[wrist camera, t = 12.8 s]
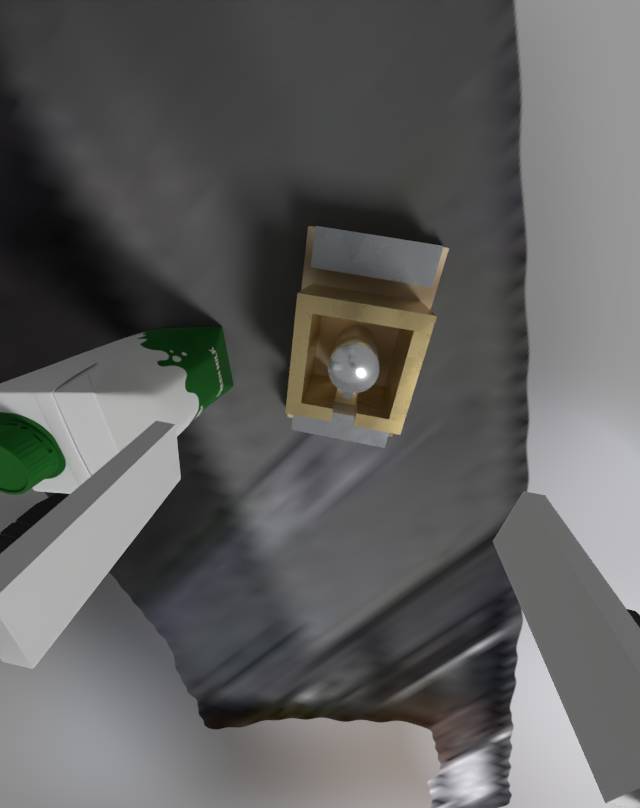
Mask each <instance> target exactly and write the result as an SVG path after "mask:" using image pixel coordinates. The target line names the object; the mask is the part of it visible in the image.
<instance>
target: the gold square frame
mask: <svg viewBox="0 0 640 808" xmlns="http://www.w3.org/2000/svg"><path fill="white" fill-rule="evenodd" d="M321 315H324V316H330V317H336V318H342V319H348V320H354V321H360V322H366V323H371V324H377V325H383V326H389V327H395V328H399V332H398V336H397V340H396V344H395V348H394V352H393V355H392V359H391V363H390V367H389V371H388V375H387V379H386V383H385V386H379V385H374V384H373V385H372V386H371V387H370V388H369V389H367V390H365V391H363V392H360V393H356V399H355V414H354V426H356V427H362V428H367V429H372V430H378V431H383V432H388V433H394V434H399V435H400V434H401V430H402V427H403V424H404V421H405V417H406V414H407V411H408V408H409V405H410V401H411V398H412V395H413V392H414V388H415V385H416V382H417V379H418V375H419V372H420V369H421V366H422V362H423V359H424V356H425V353H426V350H427V346H428V343H429V340H430V337H431V333H432V330H433V327H434V324H435V320H436V317H437V316H436V315H435V314H434V313H433V312H432V311H431V310H430V309H429V308H428V307H426V306H425V305H424V304H423V303H422V302H421V301H416V300H410V299H404V298H398V297H392V296H386V295H379V294H373V293H367V292H361V291H355V290H349V289H343V288H337V287H331V286H325V285H319V284H313V283H312V284H311V285H309V286H307V287H306V288H304V289H303V290H301V291H300V292H298V293H297V302H296V312H295V322H294V332H293V342H292V352H291V362H290V372H289V382H288V392H287V402H286V412H285V413H287V414H293V415H298V416H303V417H309V418H314V419H319V420H324V421H330V422H331V418H332V413H333V408H334V403H335V398H336V393H337V387H336V386H335V385H334V384H333V383H332V381H331V379H330V377H329V376H324V375H318V374H313V373H314V366H315V359H316V351H317V344H318V337H319V330H320V323H321Z"/></svg>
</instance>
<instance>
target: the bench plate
mask: <svg viewBox="0 0 640 808" xmlns="http://www.w3.org/2000/svg"><path fill="white" fill-rule="evenodd" d="M314 234H315V227H312V226H308V232H307V241H306V251H305V260H304V269H303V278H302V287H301V290H303V289H304V288H306V287H307V286H309V285H311V284H312V283H313V284H319V285H325V286H331V287H337V288H343V289H349V290H355V291H361V292H367V293H373V294H379V295H386V296H392V297H398V298H404V299H410V300H416V301H421V302H422V303H423V304H424V305H425V306H426V307H428V308H429V309H430V310H431V307H432V303H433V300H434V297H435V293H436V290H437V287H438V283H439V280H440V277H441V273H442V270H443V267H444V263H445V260H446V257H447V253H448V250H449V248H444V247H443V251H442V254H441V257H440V261H439V264H438V268H437V271H436V274H435V278H434V281H433V285H432V287H427V286H421V285H415V284H409V283H403V282H397V281H391V280H385V279H379V278H373V277H367V276H361V275H355V274H349V273H343V272H337V271H331V270H325V269H319V268H313V267H311V259H312V251H313V242H314ZM351 325H361V326H364V327H366V328H368V329H369V330H370V331H371V332H372V333H373V334H374V336H375V338H376V344H377V352H378V361H379V375H378V378H377V380H376V382H375V383H374V385H379V386H385V383H386V379H387V375H388V371H389V367H390V363H391V359H392V355H393V352H394V348H395V344H396V340H397V336H398V332H399V328H395V327H389V326H383V325H377V324H371V323H366V322H360V321H354V320H348V319H342V318H336V317H330V316H324V315H321V323H320V330H319V337H318V344H317V351H316V359H315V366H314V373H313V374H318V375H324V376H329V373H328V365H329V361H330V358H331V355H332V352H333V349H334V345H335V342H336V339H337V337H338V335H339V333H340V332H341V331H342V330H343V329H345V328H346V327H348V326H351ZM355 399H356V393H353V396H352V399H348V398H343V391H342V390H340V389H339V388H337V393H336V398H335V402H340V403H345V404H351V405H355ZM287 417H292V418H293V414H288V416H287ZM388 436H391V437H392V436H393V433H389V435H388Z"/></svg>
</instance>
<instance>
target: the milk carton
mask: <svg viewBox="0 0 640 808" xmlns="http://www.w3.org/2000/svg"><path fill="white" fill-rule="evenodd" d="M232 387H233V381H232V376H231V370H230V365H229V360H228V355H227V350H226V344H225V339H224V334H223V329H222V326H217V327H179V328H158V329H152V330H146V331H143V332H140V333H137V334H134V335H132V336H129V337H126V338H123V339H121V340H118V341H115V342H112V343H110V344H107V345H104V346H101V347H99V348H96V349H93V350H90V351H88V352H85V353H82V354H79V355H77V356H74V357H71V358H69V359H66V360H63V361H61V362H58V363H55V364H53V365H50V366H47V367H45V368H42V369H39V370H36V371H34V372H31V373H28V374H25V375H23V376H20V377H17V378H14V379H12V380H9V381H6V382H3V383H1V384H0V492H3V493H7V494H22V493H25V492H26V491H28V490H30V489H31V488H33V490H34V491H41V492H55V493H69V494H71V493H72V492H73V491H74V490H76V489H77V488H78V487H79V486H80V485H81V484H83V483H84V482H85V481H86V480H87V479H88V478H90V477H91V476H92V475H93V474H94V473H96V472H97V471H98V470H99V469H100V468H101V467H103V466H104V465H105V464H106V463H107V462H108V461H110V460H111V459H112V458H113V457H114V456H115V455H117V454H118V453H119V452H120V451H121V450H122V449H124V448H125V447H126V446H127V445H128V444H129V443H131V442H132V441H133V440H134V439H135V438H136V437H138V436H139V435H140V434H141V433H142V432H143V431H145V430H146V429H147V428H148V427H149V426H150V425H152V424H153V423H154V422H155V421H161V422H166V423H171V424H175V425H176V435H177V436H178V435H179V434H180V433H181V432H182V431H183V430H184V429H185V428H186V427H187V426H188V425H189V424H190V423H191V422H192V421H193V420H194V419H195V418H196V417H197V416H198V415H199V414H200V413H201V412H202V411H203V410H204V409H205V408H207V407H208V406H209V405H210V404H211V403H213V402H214V401H215V400H216V399H218V398H219V397H220V396H222V395H223V394H224V393H225V392H227V391H228V390H229V389H230V388H232Z"/></svg>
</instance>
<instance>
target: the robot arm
mask: <svg viewBox="0 0 640 808" xmlns="http://www.w3.org/2000/svg"><path fill="white" fill-rule="evenodd" d="M180 479H181V476H180V466H179V456H178V446H177V435H176V425H175V424H171V423H166V422H161V421H155V422H154V423H153V424H152V425H150V426H149V427H148V428H147V429H146V430H145V431H143V432H142V433H141V434H140V435H139V436H138V437H136V438H135V439H134V440H133V441H132V442H131V443H129V444H128V445H127V446H126V447H125V448H124V449H122V450H121V451H120V452H119V453H118V454H117V455H115V456H114V457H113V458H112V459H111V460H110V461H108V462H107V463H106V464H105V465H104V466H103V467H101V468H100V469H99V470H98V471H97V472H96V473H94V474H93V475H92V476H91V477H90V478H88V479H87V480H86V481H85V482H84V483H83V484H81V485H80V486H79V487H78V488H77V489H76V490H74V491H73V492H72V493H71V494H70V495H66V494H61V493H57V494H55V495H53V496H51V497H49V498H47V499H45V500H43V501H41V502H39V503H37V504H36V505H34V506H33V507H32V508H31V509H29V510H28V511H27V512H26V513H24V514H23V515H22V516H21V517H19V518H18V519H17V521H16V522H15V523H12V524H11V525H9V526H8V527H7V528H5V529H4V530H3V531H2V532H1V534H0V659H1V660H2V662H6V663H10V664H14V665H19V666H23V667H27V668H31V669H33V668H34V667H35V666H36V665H37V663H38V662H39V661H40V660H41V658H42V657H43V655H44V654H45V653H46V652H47V650H48V649H49V648H50V647H51V645H52V644H53V643H54V641H55V640H56V639H57V637H58V636H59V635H60V634H61V632H62V631H63V630H64V629H65V627H66V626H67V625H68V623H69V622H70V621H71V620H72V618H73V617H74V616H75V614H76V613H77V612H78V611H79V609H80V608H81V607H82V605H83V604H84V603H85V602H86V600H87V599H88V598H89V596H90V595H91V594H92V593H93V591H94V590H95V589H96V587H97V586H98V585H99V584H100V582H101V581H102V580H103V578H104V577H105V576H106V574H107V573H108V572H109V571H110V569H111V568H112V567H113V565H114V564H115V563H116V562H117V560H118V559H119V558H120V556H121V555H122V554H123V553H124V551H125V550H126V549H127V547H128V546H129V545H130V544H131V542H132V541H133V540H134V538H135V537H136V536H137V535H138V533H139V532H140V531H141V529H142V528H143V527H144V526H145V524H146V523H147V522H148V520H149V519H150V518H151V517H152V515H153V514H154V513H155V511H156V510H157V509H158V508H159V506H160V505H161V504H162V502H163V501H164V500H165V498H166V497H167V496H168V495H169V493H170V492H171V491H172V489H173V488H174V487H175V486H176V484H177V483H178V482H179V480H180ZM493 543H494V546H495V548H496V550H497V553H498V555H499V557H500V560H501V562H502V564H503V567H504V569H505V571H506V573H507V576H508V578H509V580H510V583H511V585H512V587H513V590H514V592H515V594H516V597H517V599H518V601H519V604H520V606H521V608H522V611H523V613H524V615H525V618H526V620H527V622H528V624H529V627H530V629H531V631H532V634H533V636H534V638H535V641H536V643H537V645H538V648H539V650H540V652H541V655H542V657H543V659H544V662H545V664H546V666H547V668H548V671H549V673H550V676H551V678H552V680H553V682H554V685H555V687H556V690H557V692H558V694H559V696H560V699H561V701H562V703H563V706H564V708H565V710H566V713H567V715H568V717H569V720H570V722H571V724H572V726H573V729H574V731H575V734H576V736H577V738H578V740H579V743H580V745H581V747H582V750H583V752H584V755H585V757H586V759H587V761H588V764H589V766H590V768H591V771H592V773H593V775H594V778H595V780H596V782H597V784H598V787H599V789H600V792H601V794H602V796H603V798H604V801H605V803H607V804H611V805H615V806H619V807H624V808H640V615H639V614H638V613H637V612H636V611H632V610H628V609H626V608H625V607H624V605H623V604H622V603H621V601H620V600H619V598H618V597H617V595H616V594H615V593H614V591H613V590H612V588H611V587H610V586H609V584H608V583H607V581H606V580H605V579H604V577H603V576H602V575H601V573H600V572H599V570H598V569H597V568H596V566H595V565H594V563H593V562H592V561H591V559H590V558H589V556H588V555H587V554H586V552H585V551H584V549H583V548H582V547H581V545H580V544H579V542H578V541H577V540H576V538H575V537H574V536H573V534H572V533H571V531H570V530H569V528H568V527H567V526H566V524H565V523H564V522H563V520H562V519H561V517H560V516H559V515H558V513H557V512H556V510H555V509H554V508H553V506H552V505H551V503H550V502H549V500H548V499H547V498H546V496H545V495H540V494H535V493H529V492H524V491H523V493H522V495H521V496H520V498H519V499H518V501H517V503H516V504H515V506H514V508H513V509H512V511H511V512H510V514H509V516H508V517H507V519H506V521H505V522H504V524H503V525H502V527H501V529H500V530H499V532H498V534H497V535H496V537H495V538H494V540H493Z"/></svg>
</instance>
